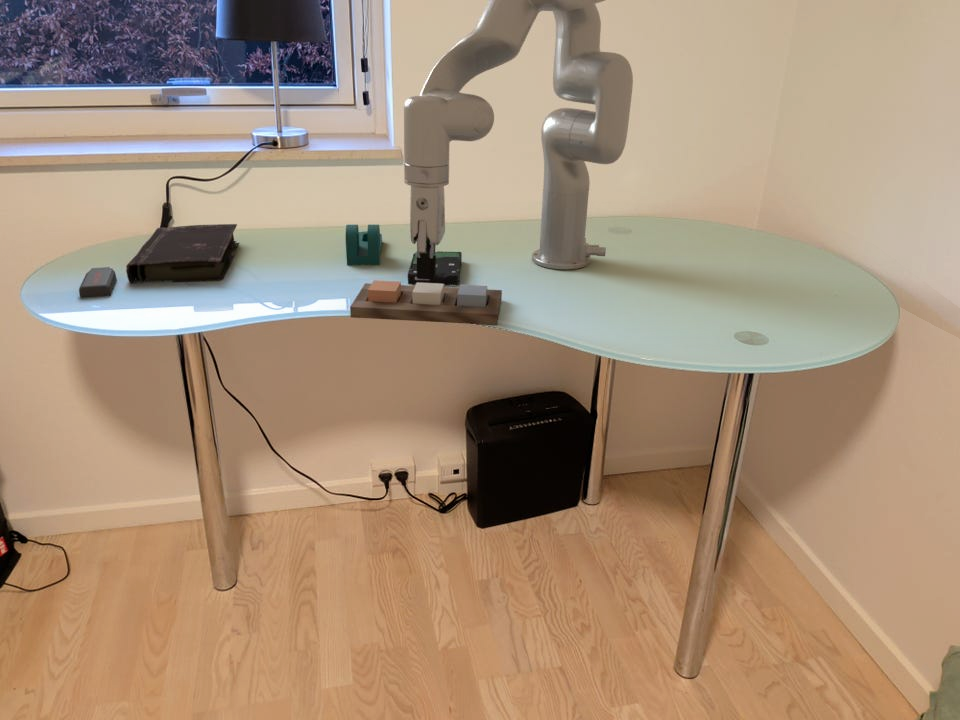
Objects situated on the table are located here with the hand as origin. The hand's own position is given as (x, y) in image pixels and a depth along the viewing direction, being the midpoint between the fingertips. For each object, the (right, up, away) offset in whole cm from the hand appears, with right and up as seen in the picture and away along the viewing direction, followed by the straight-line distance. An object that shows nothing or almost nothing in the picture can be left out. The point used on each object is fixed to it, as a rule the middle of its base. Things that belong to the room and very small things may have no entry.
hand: (426, 277), depth 134 cm
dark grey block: (-63, -1, +10) cm, 64 cm away
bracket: (-16, +9, +32) cm, 37 cm away
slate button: (+8, -6, +2) cm, 10 cm away
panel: (0, -5, +3) cm, 6 cm away
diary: (-51, +5, +24) cm, 57 cm away
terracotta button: (-8, -5, +3) cm, 10 cm away
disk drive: (+1, +3, +21) cm, 21 cm away
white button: (0, -5, +3) cm, 6 cm away
